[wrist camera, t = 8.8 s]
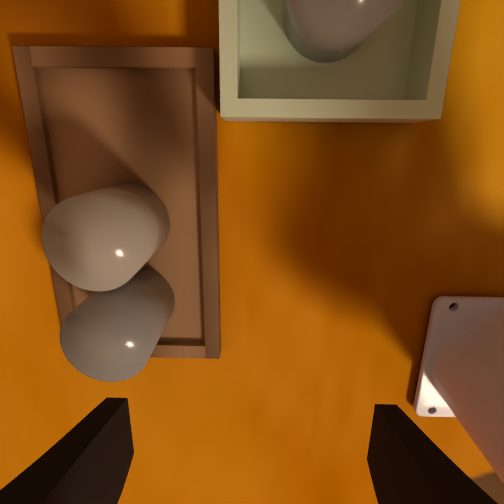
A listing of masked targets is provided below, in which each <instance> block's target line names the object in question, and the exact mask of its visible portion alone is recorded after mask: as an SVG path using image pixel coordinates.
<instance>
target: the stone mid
mask: <svg viewBox="0 0 504 504" xmlns="http://www.w3.org/2000/svg"><path fill="white" fill-rule="evenodd" d="M169 230H170V218H169V214H168V211H167V208H166V206H165V204H164V203H163V201H162V200H161V199H160V198H159V196H158V195H157V194H155V193H154V192H153V191H152V190H150V189H149V188H147V187H145V186H142V185H139V184H135V183H121V184H117V185H113V186H109V187H106V188H102V189H99V190H95V191H91V192H88V193H84V194H81V195H77V196H73V197H70V198H67V199H65V200H63V201H61V202H60V203H58V204H57V205H56V206H54V208H53V209H52V210H51V211H50V212H49V214H48V215H47V217H46V219H45V221H44V224H43V229H42V244H43V249H44V252H45V255H46V257H47V259H48V261H49V263H50V264H51V266H52V267H53V268H54V270H55V271H56V272H57V273H58V274H59V275H60V276H61V277H62V278H64V279H65V280H66V281H68V282H69V283H71V284H73V285H75V286H77V287H79V288H82V289H85V290H90V291H108V290H112V289H116V288H118V287H120V286H122V285H124V284H125V283H126V282H128V281H129V280H130V279H131V278H132V277H133V276H134V275H135V274H136V273H137V272H138V271H139V270H140V269H141V268H142V267H143V265H144V264H145V263H146V262H147V261H148V260H149V259H150V258H151V257H152V256H153V255H154V254H155V253H156V252H157V251H158V250H159V249H160V248H161V247H162V245H163V244H164V243H165V241H166V239H167V237H168V234H169Z"/></svg>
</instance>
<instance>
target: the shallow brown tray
mask: <svg viewBox="0 0 504 504" xmlns="http://www.w3.org/2000/svg"><path fill="white" fill-rule="evenodd" d="M12 50H13V55H14V61H15V67H16V72H17V78H18V84H19V89H20V95H21V101H22V106H23V112H24V118H25V123H26V129H27V135H28V140H29V146H30V152H31V157H32V163H33V169H34V174H35V180H36V186H37V191H38V197H39V203H40V208H41V214H42V220H43V224H44V221H45V219H46V217H47V215H48V214H49V212H50V211H51V210H52V209H53V208H54V206H56V205H57V204H58V203H60V202H61V201H63V200H65V199H67V198H70V197H73V196H77V195H81V194H84V193H88V192H91V191H95V190H99V189H102V188H106V187H109V186H113V185H117V184H121V183H135V184H139V185H142V186H145V187H147V188H149V189H150V190H152V191H153V192H154V193H155V194H157V195H158V196H159V198H160V199H161V200H162V201H163V203H164V204H165V206H166V208H167V211H168V214H169V218H170V230H169V234H168V237H167V239H166V241H165V243H164V244H163V245H162V247H161V248H160V249H159V250H158V251H157V252H156V253H155V254H154V255H153V256H152V257H151V258H150V259H149V260H148V261H147V262H146V263H145V264H144V265H143V267H146V268H149V269H152V270H154V271H156V272H157V273H159V274H160V275H161V276H163V277H164V278H165V279H166V280H167V282H168V283H169V284H170V286H171V288H172V290H173V293H174V298H175V306H174V310H173V313H172V315H171V317H170V319H169V321H168V323H167V325H166V327H165V329H164V331H163V333H162V335H161V336H160V338H159V340H158V342H157V344H156V346H155V348H154V350H153V352H152V354H151V356H150V357H170V358H215V359H219V357H220V352H221V336H220V282H219V228H218V174H217V120H216V66H215V51H214V48H213V47H89V46H12ZM50 265H51V264H50ZM51 271H52V276H53V282H54V288H55V293H56V299H57V305H58V310H59V316H60V322H61V326H62V323H63V321H64V319H65V318H66V317H67V315H68V314H69V313H70V312H71V311H73V310H74V309H75V308H76V307H77V306H78V305H79V304H80V303H82V302H83V301H84V300H85V299H86V298H87V297H88V296H89V295H91V294H92V293H93V292H94V291H90V290H85V289H82V288H79V287H77V286H75V285H73V284H71V283H69V282H68V281H66V280H65V279H64V278H62V277H61V276H60V275H59V274H58V273H57V272H56V271H55V270H54V268H53V267H52V266H51Z"/></svg>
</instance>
